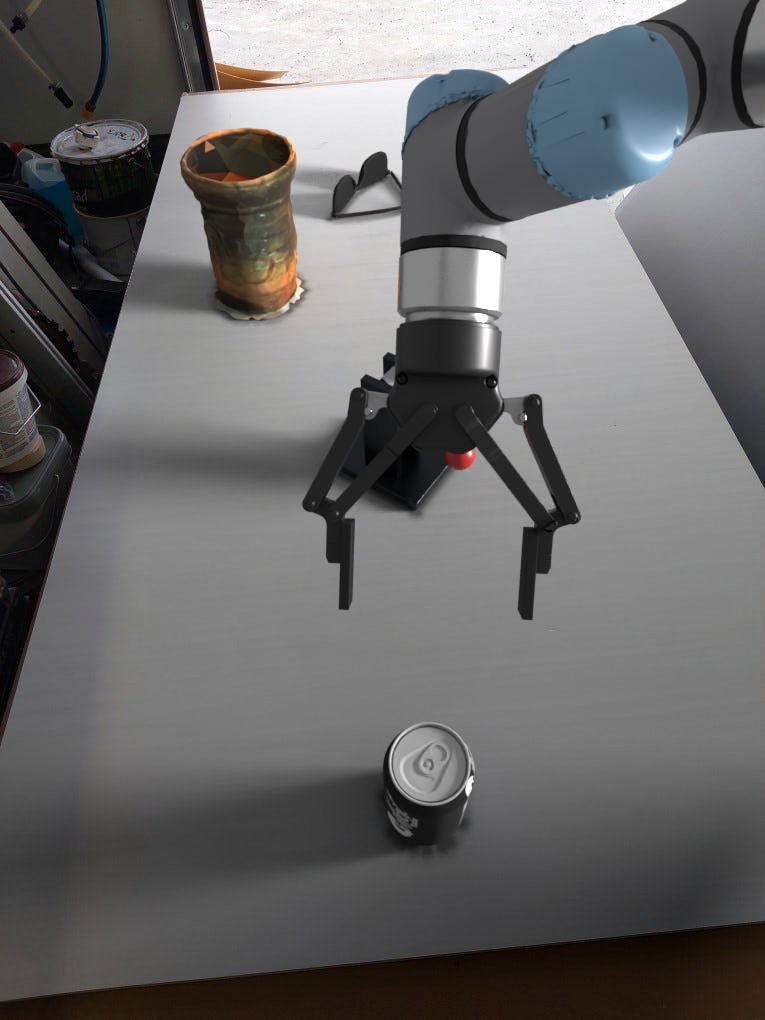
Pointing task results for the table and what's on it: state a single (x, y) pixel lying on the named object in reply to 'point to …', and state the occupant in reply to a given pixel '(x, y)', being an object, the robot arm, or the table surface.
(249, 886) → the table surface
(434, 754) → the beverage can
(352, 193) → the sunglasses
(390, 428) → the bracket
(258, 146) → the vessel
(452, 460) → the lever
